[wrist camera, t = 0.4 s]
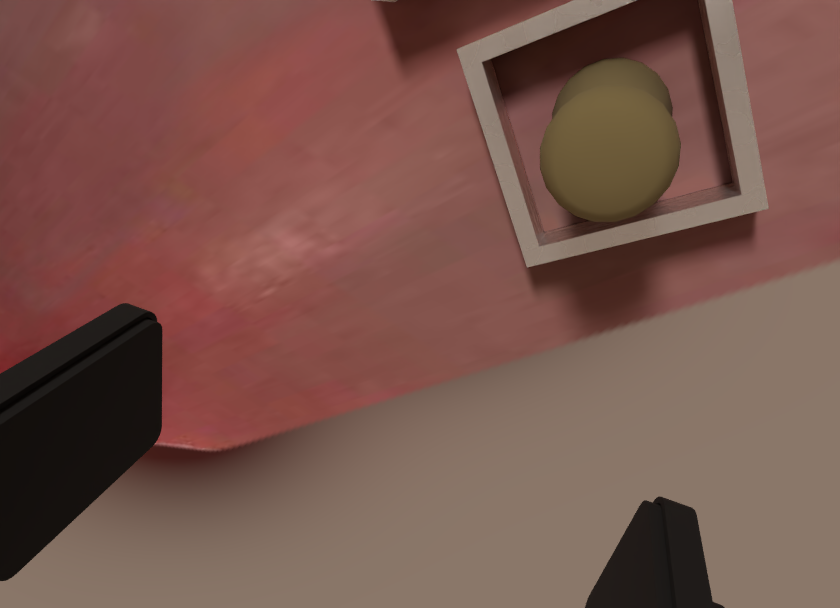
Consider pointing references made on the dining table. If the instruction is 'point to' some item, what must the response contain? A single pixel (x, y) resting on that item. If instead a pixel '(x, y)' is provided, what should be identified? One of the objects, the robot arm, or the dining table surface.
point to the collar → (661, 215)
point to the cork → (610, 141)
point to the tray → (387, 0)
